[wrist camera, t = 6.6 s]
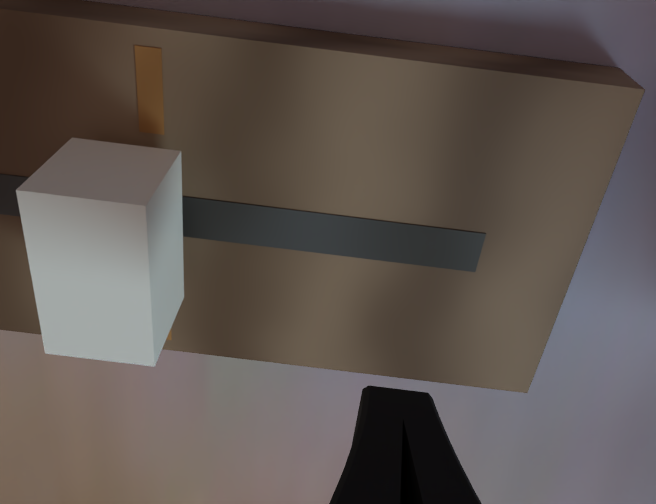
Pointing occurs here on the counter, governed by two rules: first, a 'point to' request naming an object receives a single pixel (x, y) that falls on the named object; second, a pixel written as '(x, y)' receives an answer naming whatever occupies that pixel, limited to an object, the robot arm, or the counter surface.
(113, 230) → the fader
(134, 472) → the counter surface
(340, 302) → the brown flat slab
